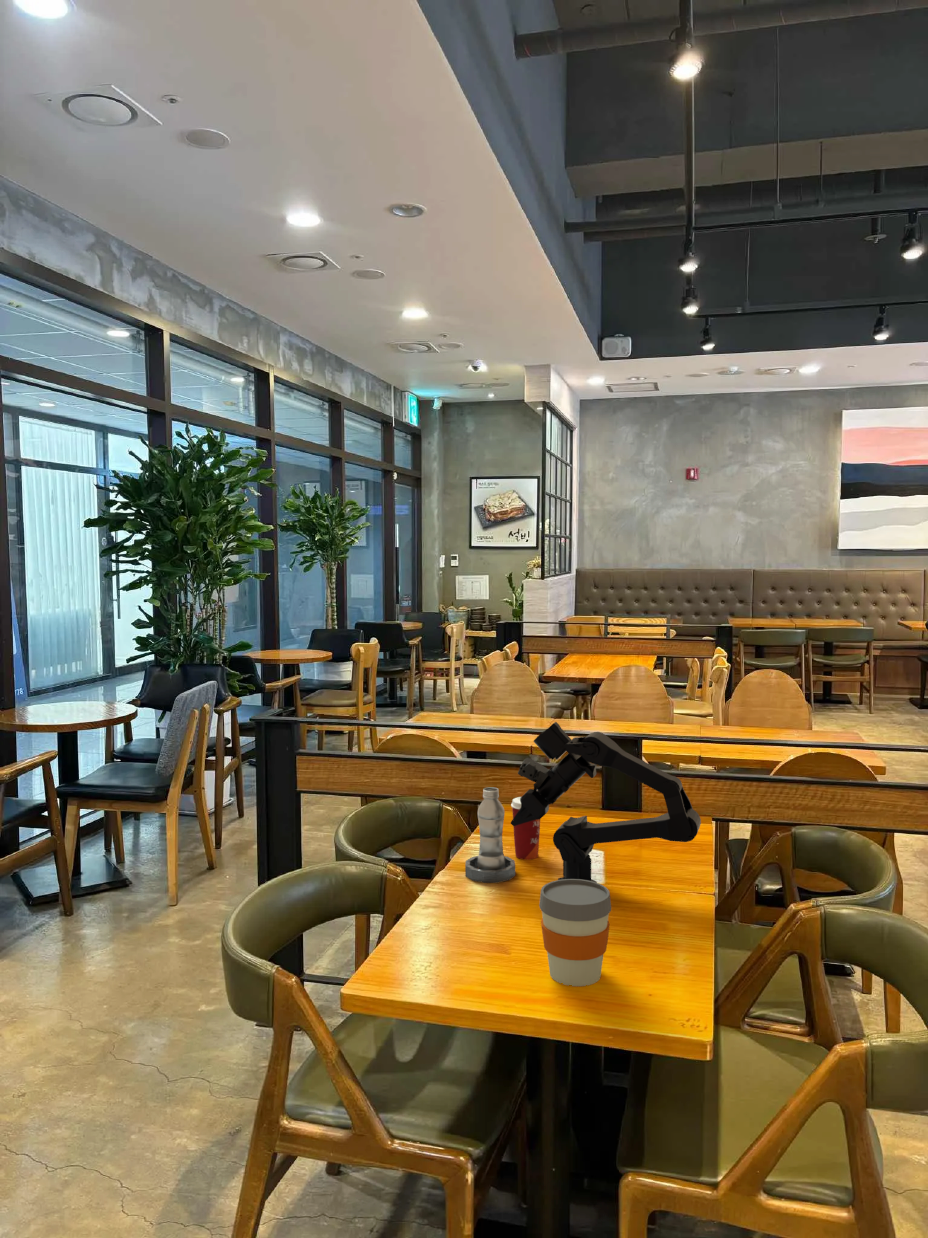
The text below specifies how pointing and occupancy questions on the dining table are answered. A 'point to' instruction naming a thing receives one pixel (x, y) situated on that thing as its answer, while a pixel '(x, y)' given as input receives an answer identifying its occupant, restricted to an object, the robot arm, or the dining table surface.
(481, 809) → the plastic bottle
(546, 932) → the reusable coffee cup
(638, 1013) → the dining table surface
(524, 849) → the paper cup
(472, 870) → the collar
